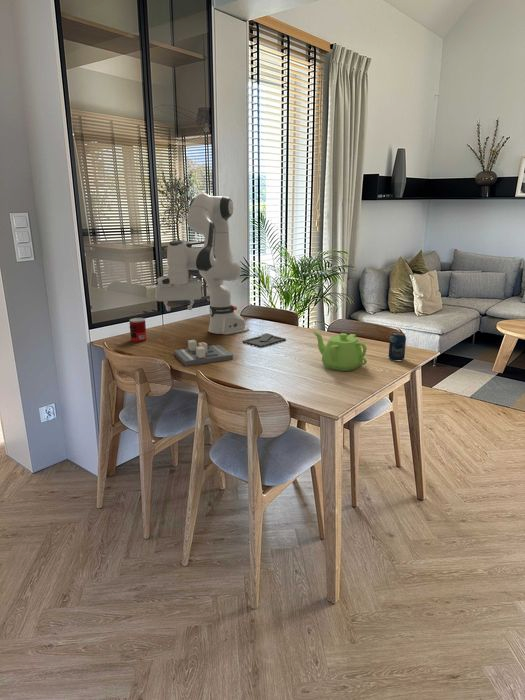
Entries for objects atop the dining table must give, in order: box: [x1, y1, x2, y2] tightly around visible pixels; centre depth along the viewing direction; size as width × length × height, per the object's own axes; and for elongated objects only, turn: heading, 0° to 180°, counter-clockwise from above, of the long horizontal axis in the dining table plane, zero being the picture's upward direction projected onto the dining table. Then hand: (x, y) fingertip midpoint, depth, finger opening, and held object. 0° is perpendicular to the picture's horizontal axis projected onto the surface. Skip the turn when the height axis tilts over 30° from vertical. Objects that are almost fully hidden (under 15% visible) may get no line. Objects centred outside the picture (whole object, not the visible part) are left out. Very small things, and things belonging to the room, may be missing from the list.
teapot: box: [312, 331, 368, 372], centre depth 208 cm, size 19×20×14 cm
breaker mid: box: [197, 341, 208, 353], centre depth 222 cm, size 3×4×4 cm
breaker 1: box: [187, 339, 198, 351], centre depth 226 cm, size 3×4×4 cm
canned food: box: [129, 317, 147, 343], centre depth 249 cm, size 8×8×11 cm
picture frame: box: [241, 333, 287, 348], centre depth 247 cm, size 13×2×18 cm
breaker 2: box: [196, 346, 205, 358], centre depth 216 cm, size 3×4×4 cm
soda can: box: [388, 331, 407, 361], centre depth 217 cm, size 7×7×12 cm
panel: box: [173, 344, 234, 367], centre depth 223 cm, size 22×18×2 cm
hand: (179, 310), depth 215 cm, fingers open, 8 cm apart
